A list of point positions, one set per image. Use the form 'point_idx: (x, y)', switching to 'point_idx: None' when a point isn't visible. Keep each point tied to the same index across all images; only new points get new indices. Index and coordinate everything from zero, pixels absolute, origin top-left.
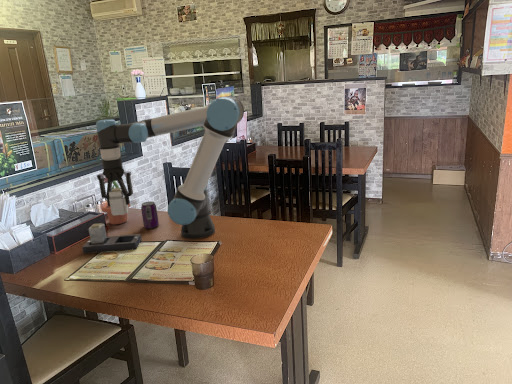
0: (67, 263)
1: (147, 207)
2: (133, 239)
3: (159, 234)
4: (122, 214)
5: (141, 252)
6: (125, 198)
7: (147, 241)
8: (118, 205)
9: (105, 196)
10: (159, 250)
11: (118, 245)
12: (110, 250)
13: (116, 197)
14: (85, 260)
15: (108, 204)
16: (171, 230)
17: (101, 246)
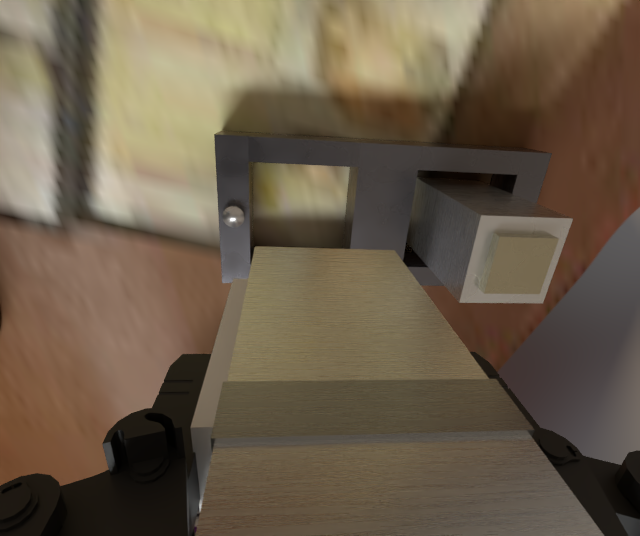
0: (607, 15)
1: (196, 519)
2: (244, 198)
3: (145, 323)
4: (282, 247)
5: (169, 62)
6: (196, 439)
7: (186, 239)
8: (322, 306)
9: (606, 490)
10: (46, 61)
11: (329, 139)
12: (378, 140)
13: (357, 412)
14: (508, 32)
15: (483, 369)
16: (92, 362)
17: (436, 146)
